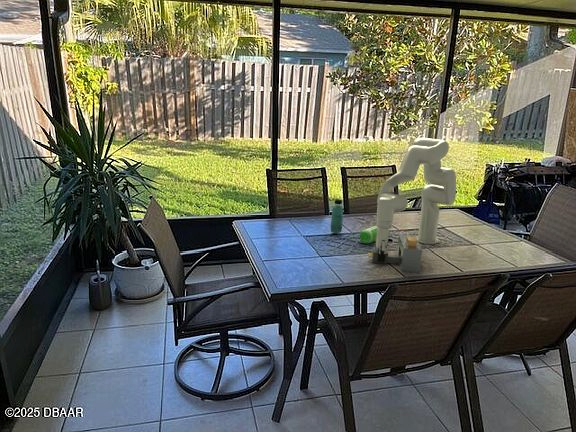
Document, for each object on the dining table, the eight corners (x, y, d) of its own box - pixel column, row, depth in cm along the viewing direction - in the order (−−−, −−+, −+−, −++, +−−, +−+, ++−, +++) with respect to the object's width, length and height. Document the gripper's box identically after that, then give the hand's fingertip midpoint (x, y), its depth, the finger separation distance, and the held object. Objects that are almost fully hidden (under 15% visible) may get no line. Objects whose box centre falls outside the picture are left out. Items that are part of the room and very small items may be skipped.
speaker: (369, 245, 223) (371, 232, 221) (358, 242, 228) (359, 229, 226) (386, 238, 236) (387, 225, 234) (375, 235, 241) (376, 222, 238)
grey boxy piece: (396, 255, 211) (399, 228, 207) (412, 256, 210) (416, 229, 206) (401, 270, 191) (404, 241, 188) (419, 272, 190) (422, 243, 187)
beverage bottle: (328, 232, 242) (330, 198, 236) (338, 231, 244) (340, 198, 239) (333, 236, 236) (335, 201, 231) (343, 235, 238) (346, 200, 233)
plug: (367, 258, 205) (368, 248, 204) (418, 262, 202) (419, 252, 201) (368, 261, 200) (368, 252, 199) (419, 266, 198) (421, 256, 196)
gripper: (374, 217, 205) (371, 252, 210) (377, 227, 189) (373, 265, 194) (390, 218, 205) (387, 253, 210) (394, 229, 188) (390, 266, 193)
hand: (380, 259), depth 202 cm, fingers closed on plug, 5 cm apart
